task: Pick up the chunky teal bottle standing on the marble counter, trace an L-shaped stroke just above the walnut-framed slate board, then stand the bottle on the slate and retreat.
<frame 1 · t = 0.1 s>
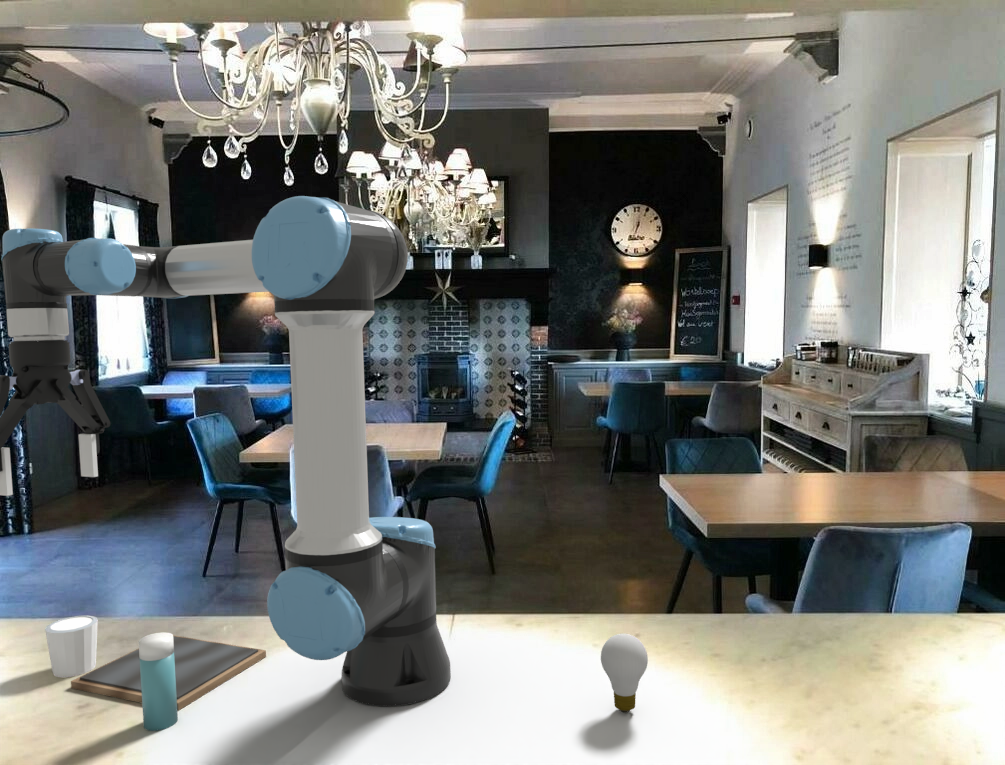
hand: (48, 485, 113), 28 cm above the worktop, fingers open, 13 cm apart
teal bottle: (160, 722, 99), on the worktop
white tapered cup: (74, 670, 115), on the worktop
slate board: (172, 671, 114), on the worktop
light bulb: (624, 713, 99), on the worktop
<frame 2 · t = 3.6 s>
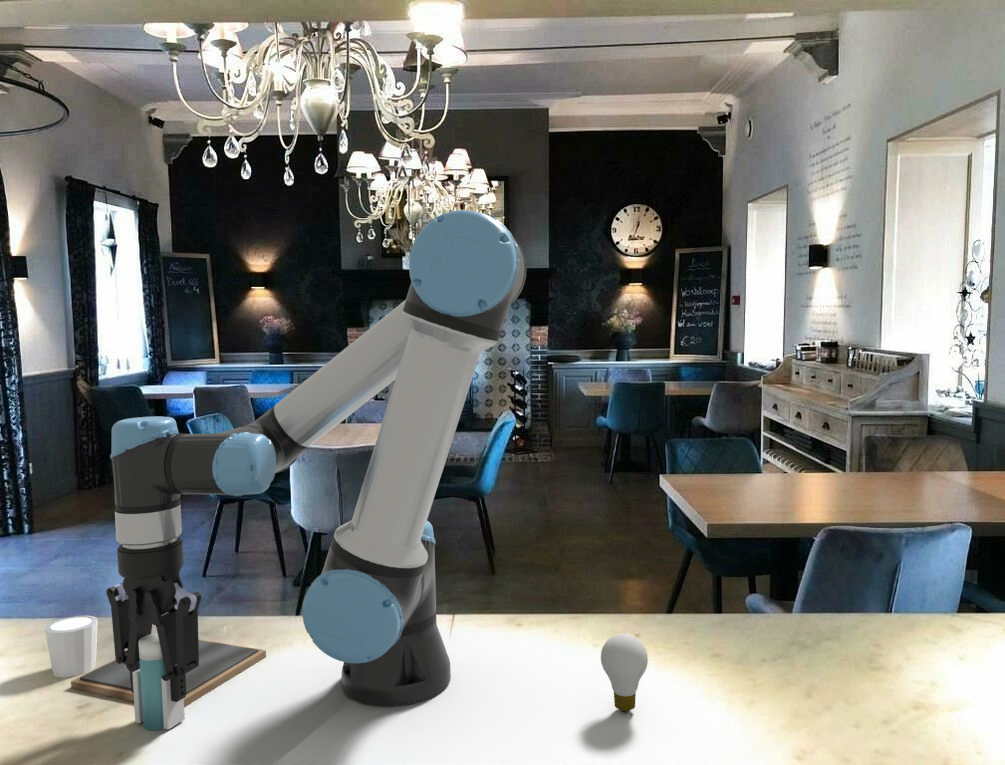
hand: (160, 720, 99), 0 cm above the worktop, fingers closed on teal bottle, 4 cm apart
teal bottle: (160, 722, 99), on the worktop, touching gripper
everything else where it was.
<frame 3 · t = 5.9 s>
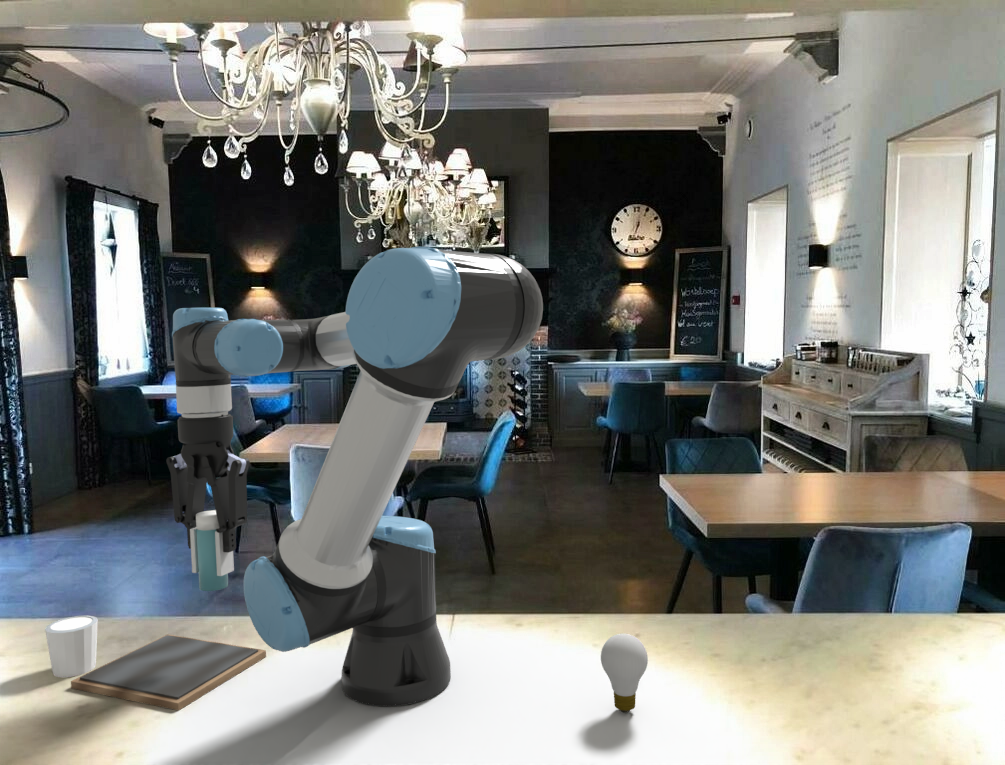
hand: (213, 571, 114), 14 cm above the worktop, fingers closed on teal bottle, 4 cm apart
teal bottle: (213, 586, 114), point 12 cm above the worktop, touching gripper
everything else where it was.
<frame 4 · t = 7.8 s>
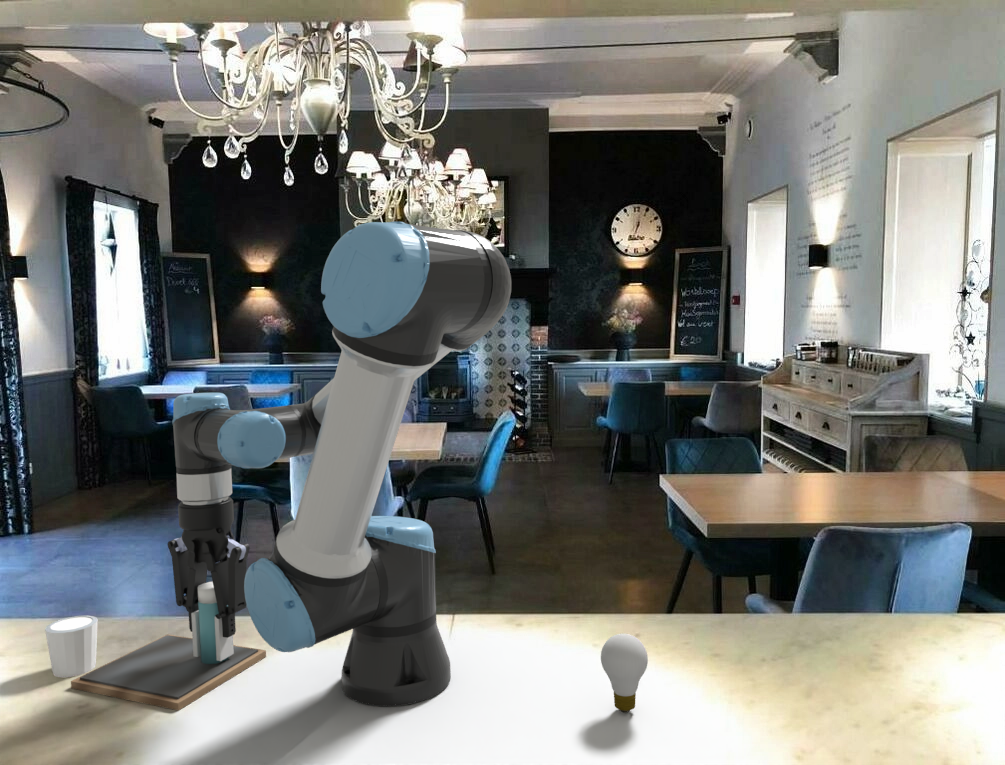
hand: (213, 654, 114), 2 cm above the worktop, fingers closed on teal bottle, 4 cm apart
teal bottle: (215, 658, 115), point 1 cm above the worktop, touching gripper, slate board
everything else where it was.
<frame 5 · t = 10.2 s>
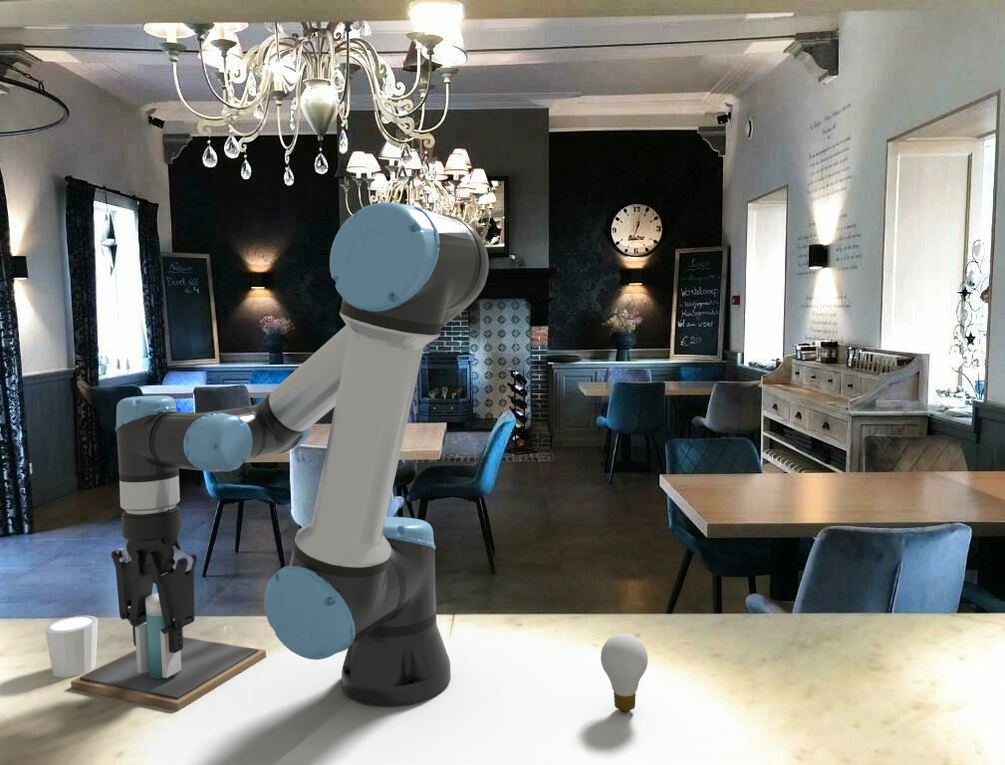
hand: (159, 670, 109), 2 cm above the worktop, fingers closed on teal bottle, 4 cm apart
teal bottle: (164, 672, 110), point 1 cm above the worktop, touching gripper
everything else where it was.
when the fingers open (2 cm above the worktop, at t = 11.8 s): teal bottle stays where it is, resting on slate board.
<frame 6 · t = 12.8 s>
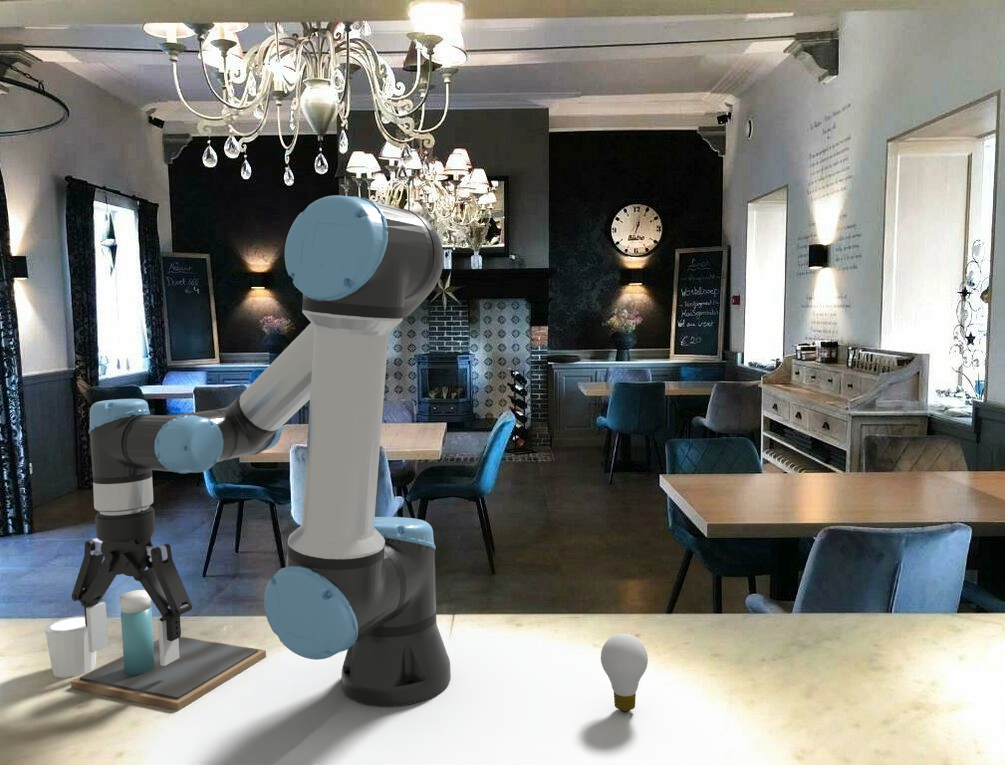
hand: (133, 655, 111), 4 cm above the worktop, fingers open, 13 cm apart
teal bottle: (139, 669, 112), point 1 cm above the worktop, touching slate board
everything else where it was.
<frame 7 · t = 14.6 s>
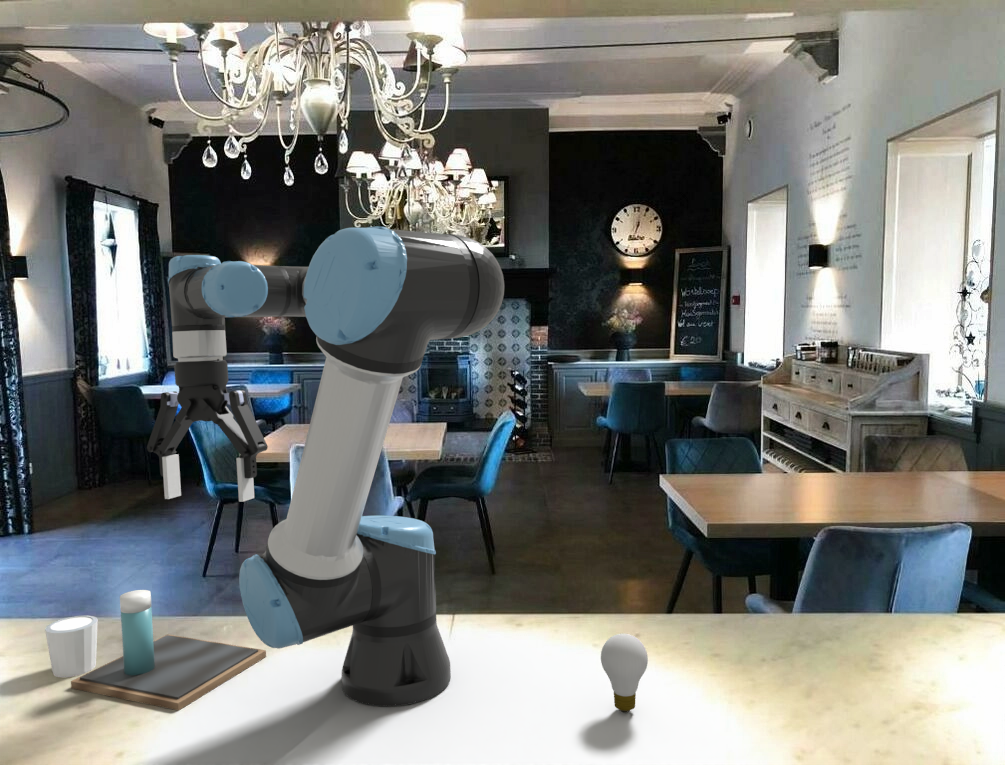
hand: (209, 498, 118), 24 cm above the worktop, fingers open, 13 cm apart
nothing on the worktop moved.
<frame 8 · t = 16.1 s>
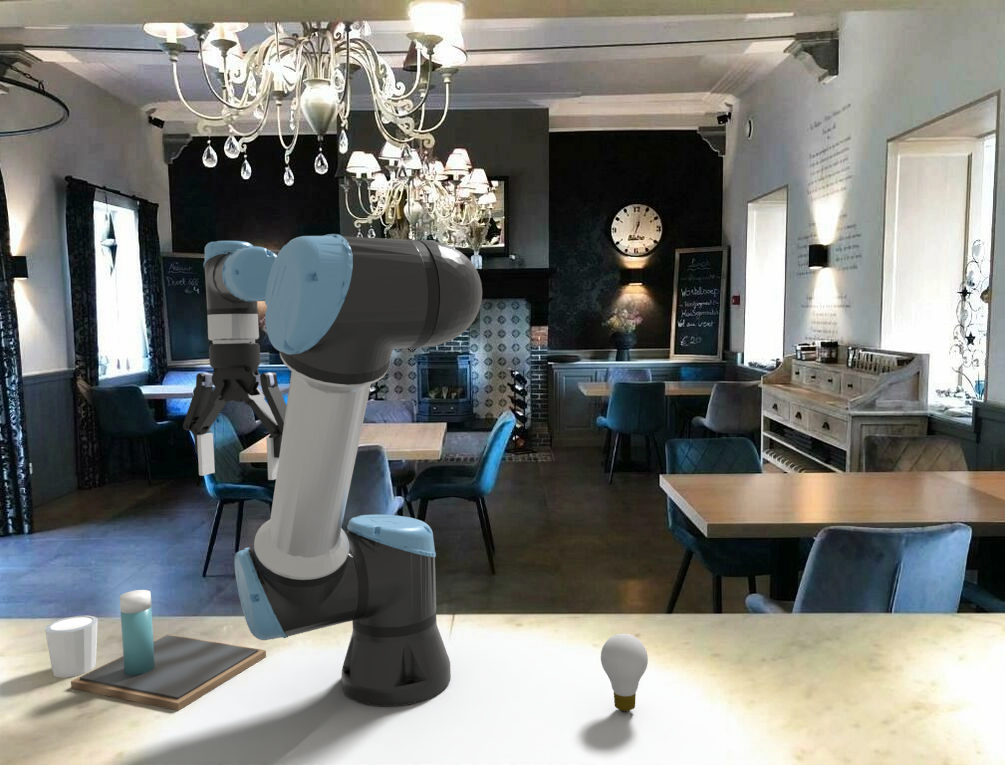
hand: (240, 476, 123), 27 cm above the worktop, fingers open, 13 cm apart
nothing on the worktop moved.
at the end: teal bottle inside the target area (0.9 cm from its centre), point 1.3 cm above the worktop; teal bottle tilted 0°; the gripper is holding nothing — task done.
